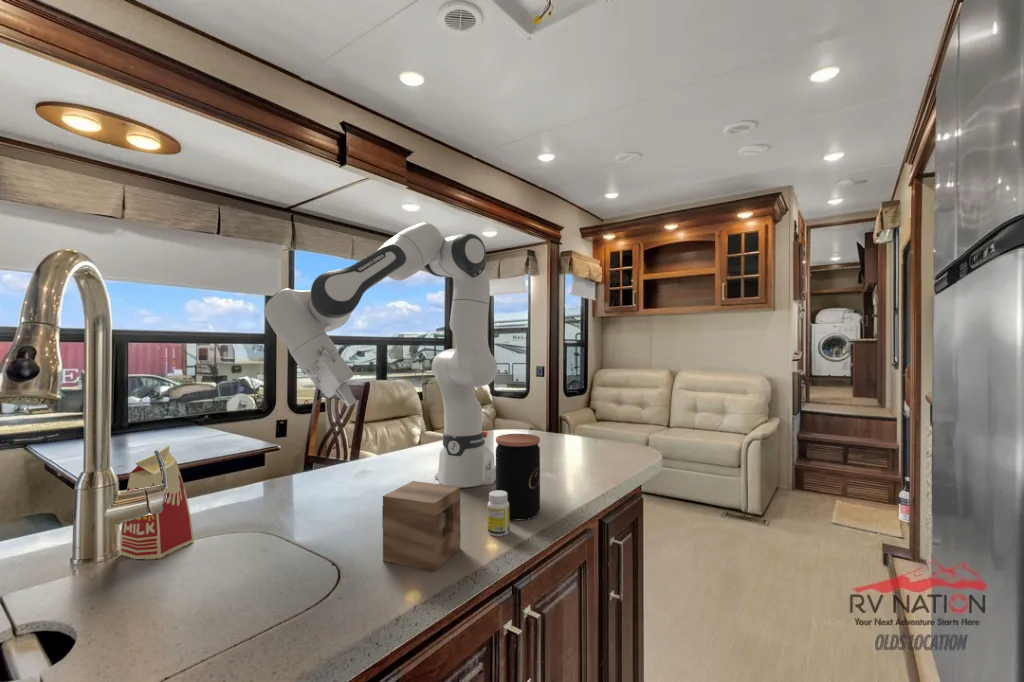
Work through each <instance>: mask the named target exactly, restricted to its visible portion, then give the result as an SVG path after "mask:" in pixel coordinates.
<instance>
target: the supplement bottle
mask: <svg viewBox="0 0 1024 682" xmlns="http://www.w3.org/2000/svg"><path fill="white" fill-rule="evenodd" d="M488 500H489V501H487V505H486V506H487V533H488V534H489V535H491V536H494V537H504V536H506V535H508V534H509V533H510V527H511V526H510V522H511V521H510V519H509V502H508V501H507V500H508V495H507V492H505V491H501V490H496V489H495V490H492V491H490V492H489V493H488ZM503 535H504V536H503Z"/></svg>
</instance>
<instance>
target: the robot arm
mask: <svg viewBox="0 0 1024 682" xmlns="http://www.w3.org/2000/svg"><path fill="white" fill-rule="evenodd" d="M486 260H487V252H486V246H485V244H484V242H483V240H482V238H481V237H480V236H478V235H476V234H473V233H461V234H454V235H449V236H446V237H443V236H442V233H441V232H440V230H439V229H438V228H437V227H436V226H435V225H434V224H432V223H429V222H423V221H422V222H419V223H417V224H413V225H411V226H409V227H407V228H405V229H404V230H401V231H400V232H398V233H397V234H394V236H392V237H390V238H389V239H388V240H386V241H385V242H384V243H382V245H381V246H380V247H379V248H378V249H377V250H376V251H374V252H372V253H370V254H368V255H367V256H365V257H363V258H362V259H361V260H359V261H357V262H355V263H353V264H352V265H350V266H348V267H347V266H346V267H344V268H340V269H334V270H328V271H325V272H323V273H322V274H320V275H318V276H317V277H316V278H315V279H314V281H313V283H312V285H311V289H310V290H301V289H300V290H297V289H292V288H284V289H281V290H279V291H277V292H276V293H274V294H273V295H272V296H271V297H270V298H269V299H268V300H267V301H266V303H265V305H264V309H263V311H264V316H265V318H266V320H267V322H268V324H269V325H270V327H271V328H272V330H273V332H274V333H275V334H276V336H277V337H278V339H279V341H281V342H283V343H284V344H285V345H286V346H287V348H288V352H289V354H290V356H292V358H293V359H294V362H296V364H297V365H298V367H299V368H300V371H301V372H302V373H303V375H304V376H308V377H309V379H310V380H311V381H312V382H313V384H314V385H315V387H316V388H318V390H319V391H320V392H321V393H322V394H323V395H324V396H325V397H326V398H328V399H330V398H332V397H333V396H335V395H336V396H337V398H338V399H340V400H341V401H343V403H344V404H345V405H346V407H347V408H349V407H351V406H352V405H354V404H355V403H356V401H357V399H356V398H355V396H354V395H353V392H352V391H351V388H350V387H349V385H348V382H350V381H351V379H352V378H353V377H354V373H353V371H352V368H350V366H349V364H347V363H346V360H345V359H344V358H343V357H342V356H341V355H340V353H339V349H338V348H337V346H336V344H334V342H333V340H332V339H331V338H330V336H329V335H328V334H327V333H329V332H331V331H334V330H337V329H339V328H341V327H342V326H344V325H345V324H346V323H347V322H348V320H349V319H350V317H351V315H352V313H353V312H354V310H355V309H356V307H357V306H358V305H359V303H360V301H361V299H362V297H363V295H364V293H365V292H366V291H368V290H369V289H371V288H372V287H374V286H375V285H377V284H378V283H379V282H382V281H383V280H384V279H386V278H387V277H388V278H389V279H392V280H394V281H401V282H402V281H403V280H406V279H408V278H410V277H412V276H413V275H415V274H417V273H418V272H419V271H421V270H422V269H423V268H424V269H425V270H426V272H428V273H429V274H430V275H431V276H435V277H438V278H440V277H441V278H444V277H452V280H453V285H454V286H453V287H454V289H453V294H452V301H451V308H450V316H449V317H450V319H449V329H450V330H451V332H452V333H453V337H454V344H455V348H449V349H445V350H442V351H439V352H438V353H437V354H436V355H435V356H434V357H433V360H432V362H431V372H432V374H433V376H434V377H435V379H436V381H437V384H438V387H439V390H440V394H441V398H442V403H443V411H444V412H443V414H444V415H443V419H444V422H443V423H444V426H443V427H444V431H443V433H442V446H443V448H442V449H440V451H439V458H438V469H437V470H438V472H437V473H435V474H434V479H436V480H437V481H438V484H441V485H449V486H457V487H460V488H470V487H471V488H472V487H478V486H487V485H488V486H489V485H493V484H494V483H495V482H496V465H495V454H494V452H493V451H492V450H490V448H489V447H488V446H487V445H486V441H485V439H487V438H488V431H487V430H483V429H482V428H483V423H482V421H483V419H482V418H483V413H482V412H483V407H482V405H481V402H480V401H479V400H478V398H477V396H476V393H475V390H474V388H479V387H485V386H488V385H490V384H491V383H492V382H494V380H495V379H496V376H497V374H498V364H497V360H496V358H495V357H494V356H493V354H492V353H491V349H490V345H489V341H488V331H487V330H488V320H489V319H488V317H489V307H490V299H491V298H490V297H491V295H490V294H491V293H490V292H491V291H490V290H491V288H490V285H491V284H490V276H489V274H488V272H487V271H486V270H485V268H486V263H487V262H486Z"/></svg>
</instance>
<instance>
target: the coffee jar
mask: <svg viewBox="0 0 1024 682" xmlns="http://www.w3.org/2000/svg"><path fill="white" fill-rule="evenodd" d="M540 440H541V438H540V437H539V436H537V435H535V434H531V433H530V434H529V433H506V434H502V435H500V434H499V435H498V436H496V437H495V442H496V444H497V446H496V447H495V466H496V480H495V491H496V490H501V491H505V492H507V495H508V500H507V501H508V502H509V520H510V519H527V520H529V519H528V518H531V519H533V518H534V516H535V517H536V516H537V515H538V514H539V512H540V510H541V449H540V446H539V444H540V442H541V441H540ZM537 513H538V514H537ZM532 517H533V518H532Z"/></svg>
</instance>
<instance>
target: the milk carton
mask: <svg viewBox="0 0 1024 682" xmlns="http://www.w3.org/2000/svg"><path fill="white" fill-rule="evenodd" d="M157 452H159V453H160V455H161V456H162V458H163V460H164V463H165V468H166V472H167V479H168V493H167V499H166V502H164V504H163V511H162V512H161V513H159V514H153V515H147V516H144V517H141V518H138V519H134V520H131V521H127V522H123V523H122V522H121V527H120V538H119V539H120V543H119V545H120V546H119V555H120V554H122V555H121V556H123V555H124V556H123V557H126V556H127V557H126V558H129V557H130V558H129V559H132V558H134V559H133V560H135V559H145V560H155V559H156V558H157V559H162V558H164V557H166V556H167V554H168V555H169V554H171V553H173V552H175V550H176V551H177V549H178V550H180V549H182V547H183V546H185V547H187V546H189V545H188V544H190V543H192V544H194V543H195V539H194V531H193V525H192V517H191V511H190V506H189V500H188V497H187V492H186V488H185V484H184V481H183V478H182V475H181V472H180V468H179V465H178V462H177V460H176V458H174V456H173V455H172V454H171V453H170V445H166V446H164V447H163V448H162V449H160V450H159V451H157ZM135 465H136V467H135V468H134V469H133V470H132V471H131V472H130V474H129V477H128V478H129V479H128V482H127V488H126V492H127V491H129V490H134V489H139V488H145V487H152V486H157V485H161V484H163V483H162V479H163V472H162V477H161V471H160V467H159V463H158V459H157V456H156V454H155V453H154V454H152V455H150V456H148V457H146V458H143V459H141V460H138V461H136V462H135ZM163 468H164V467H163ZM161 469H162V467H161ZM162 471H163V470H162ZM193 542H194V543H193ZM186 545H187V546H186ZM190 545H191V544H190ZM179 548H180V549H179ZM183 548H184V547H183ZM172 551H173V552H172ZM165 555H166V556H165Z"/></svg>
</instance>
